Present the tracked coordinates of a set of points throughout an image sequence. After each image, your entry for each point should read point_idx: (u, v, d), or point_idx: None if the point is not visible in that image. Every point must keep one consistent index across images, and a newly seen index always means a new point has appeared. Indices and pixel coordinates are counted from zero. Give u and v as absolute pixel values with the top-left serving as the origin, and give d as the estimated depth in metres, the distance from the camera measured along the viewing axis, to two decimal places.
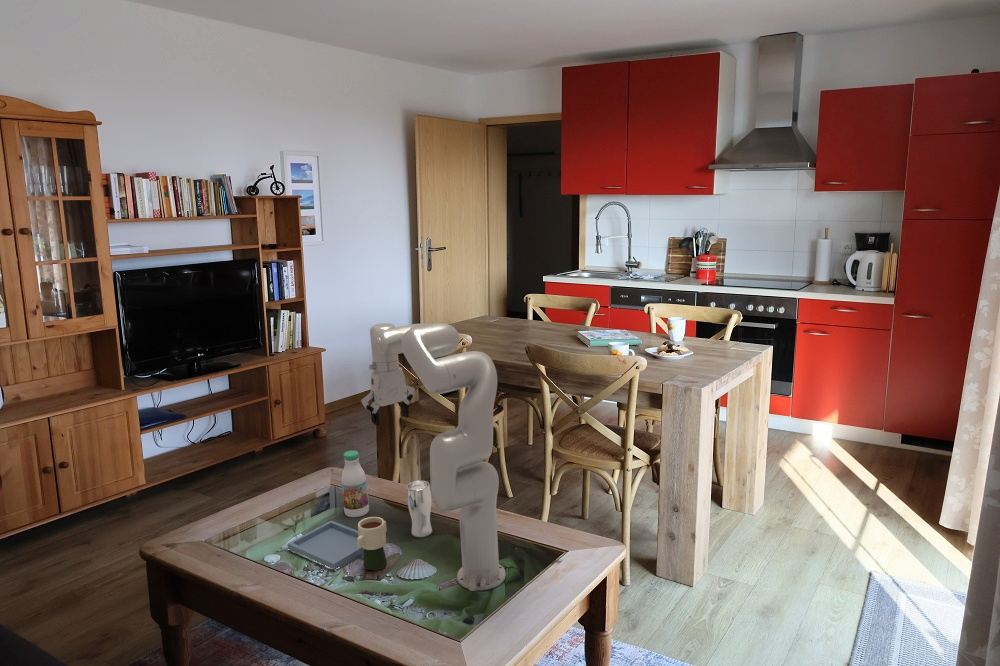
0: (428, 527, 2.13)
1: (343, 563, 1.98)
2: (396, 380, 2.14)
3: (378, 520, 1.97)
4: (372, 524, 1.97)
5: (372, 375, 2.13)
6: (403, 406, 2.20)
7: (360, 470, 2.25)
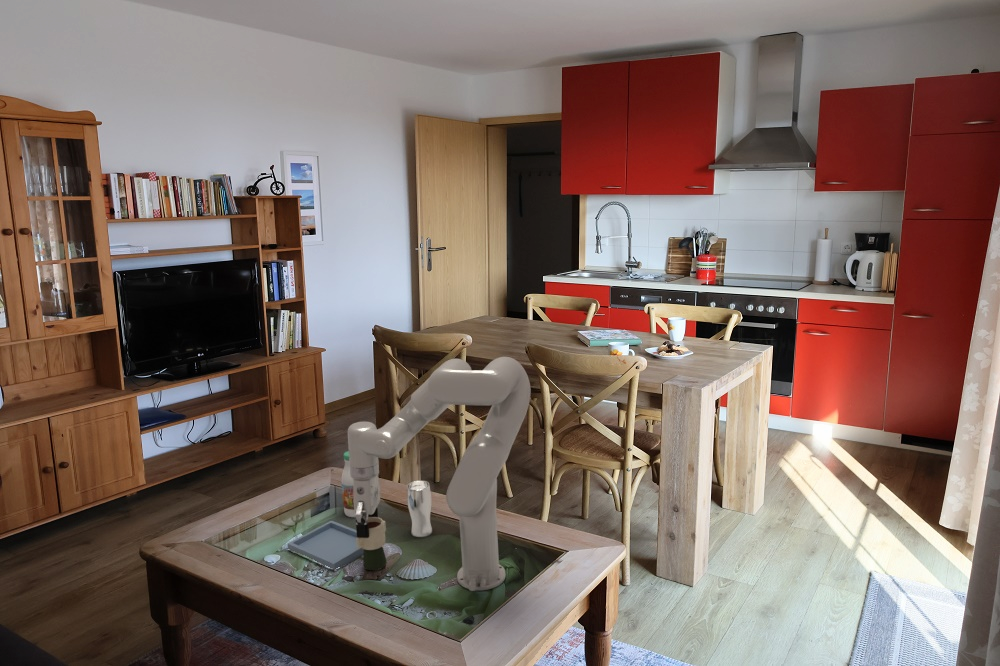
0: (428, 527, 2.13)
1: (343, 563, 1.98)
2: (377, 481, 1.94)
3: (377, 520, 1.97)
4: (371, 524, 1.97)
5: (359, 483, 1.87)
6: None
7: None
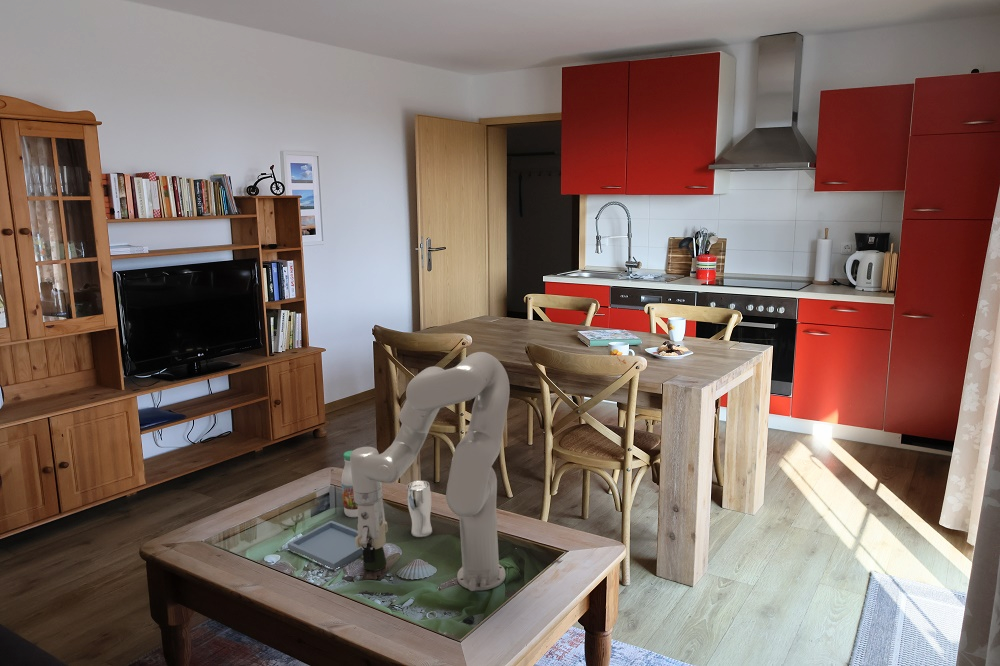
0: (428, 527, 2.13)
1: (343, 563, 1.98)
2: (381, 505, 1.95)
3: None
4: None
5: (363, 508, 1.89)
6: None
7: None
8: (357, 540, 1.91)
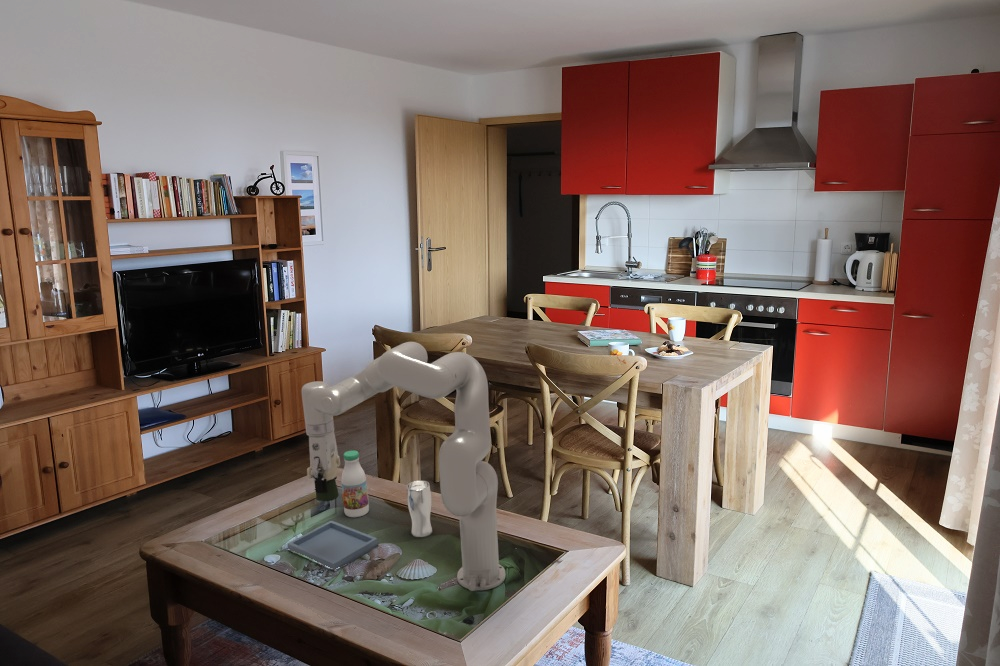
0: (428, 527, 2.13)
1: (343, 563, 1.98)
2: (333, 439, 2.02)
3: None
4: None
5: (314, 440, 1.96)
6: None
7: (360, 470, 2.25)
8: (309, 471, 1.98)
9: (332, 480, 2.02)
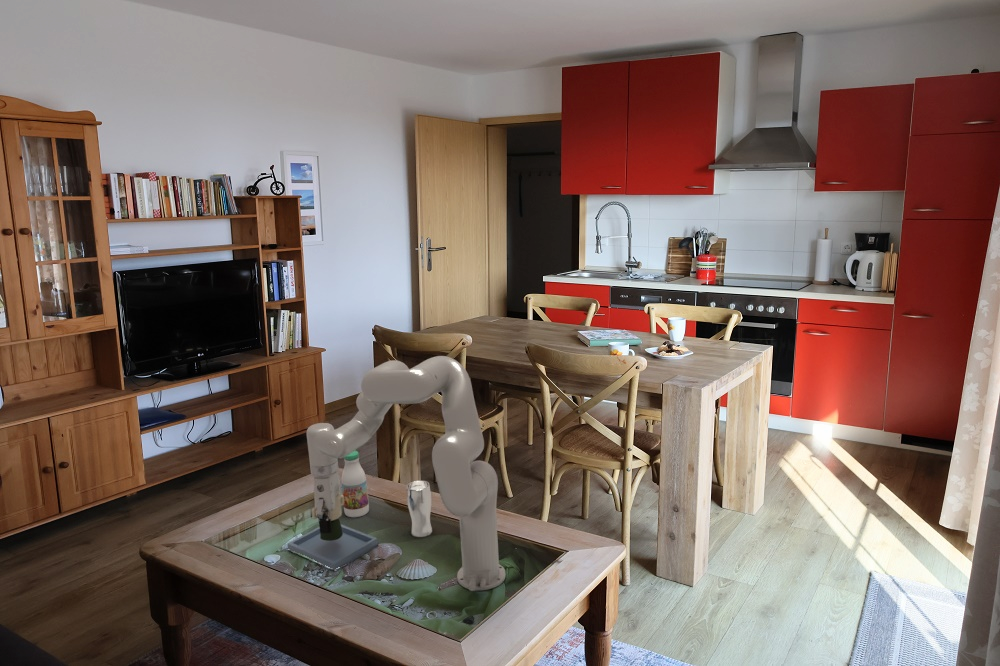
0: (428, 527, 2.13)
1: (343, 563, 1.98)
2: (337, 479, 2.05)
3: None
4: None
5: (319, 481, 1.98)
6: None
7: (360, 470, 2.25)
8: (313, 511, 2.01)
9: (336, 520, 2.05)
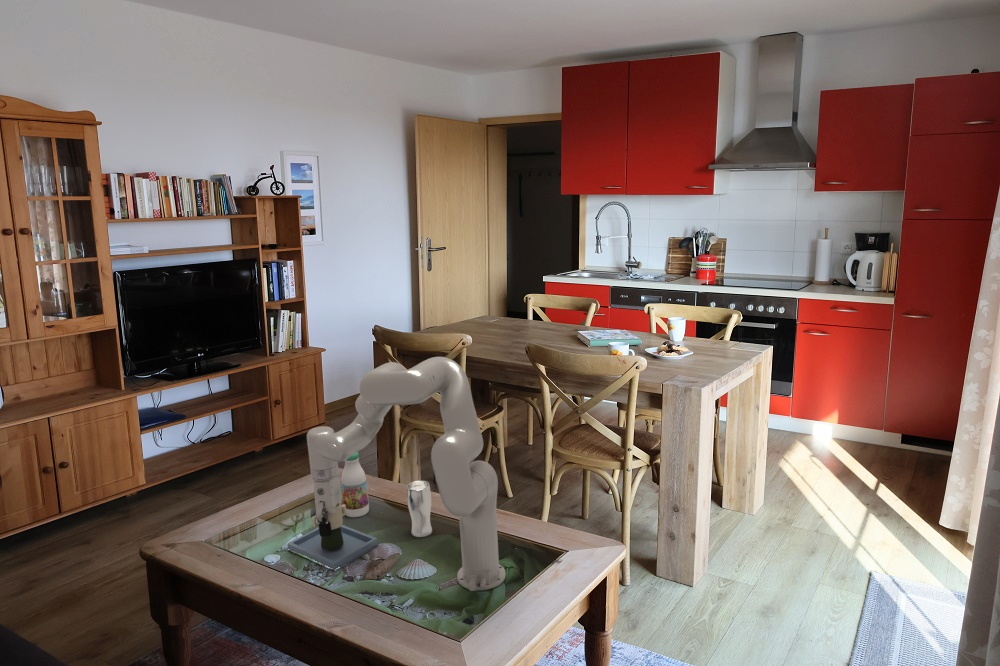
0: (428, 527, 2.13)
1: (343, 563, 1.98)
2: (337, 482, 2.05)
3: None
4: None
5: (319, 485, 1.99)
6: None
7: (360, 470, 2.25)
8: (313, 520, 2.01)
9: (337, 529, 2.05)
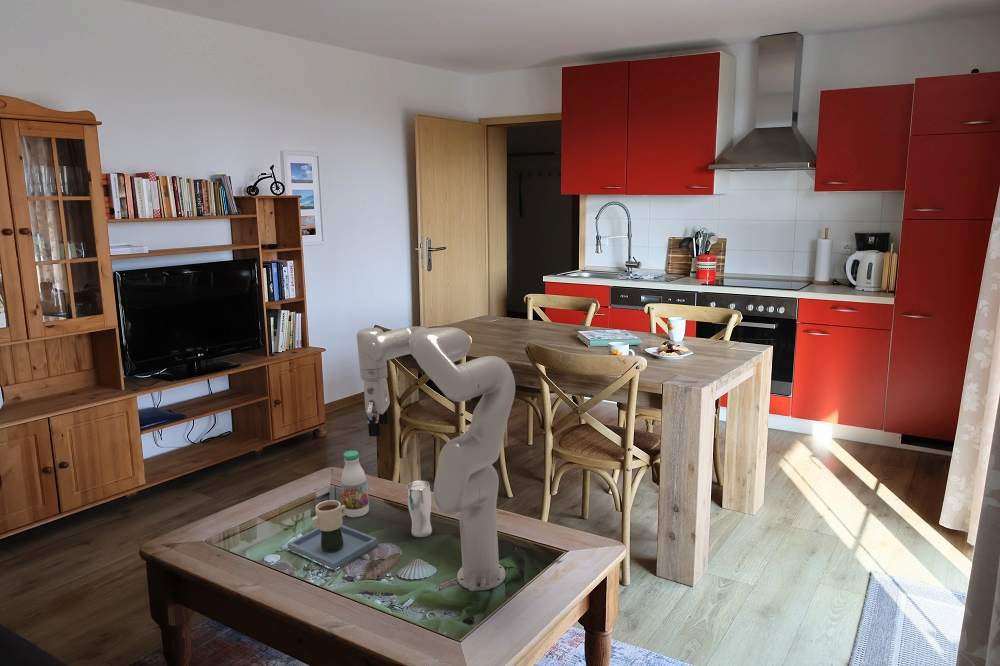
0: (428, 527, 2.13)
1: (343, 563, 1.98)
2: (386, 384, 2.07)
3: (337, 504, 2.06)
4: (330, 506, 2.06)
5: (369, 384, 2.00)
6: (382, 413, 2.12)
7: (360, 470, 2.25)
8: (313, 521, 2.01)
9: (337, 530, 2.05)
